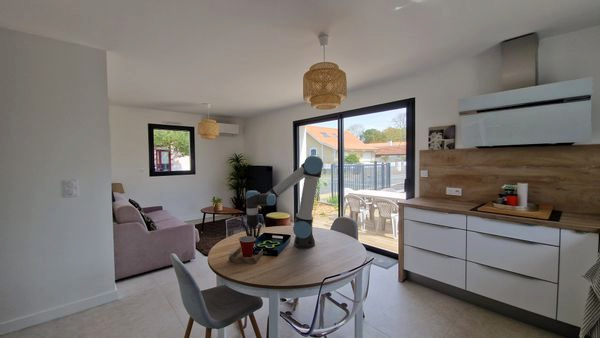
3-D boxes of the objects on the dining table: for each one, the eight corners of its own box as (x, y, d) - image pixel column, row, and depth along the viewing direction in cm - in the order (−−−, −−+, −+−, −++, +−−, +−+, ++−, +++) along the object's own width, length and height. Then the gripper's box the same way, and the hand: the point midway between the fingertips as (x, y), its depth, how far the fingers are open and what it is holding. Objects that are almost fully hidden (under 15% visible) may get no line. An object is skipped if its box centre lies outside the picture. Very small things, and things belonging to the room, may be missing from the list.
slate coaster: (237, 252, 164) (237, 251, 164) (236, 254, 160) (236, 253, 160) (231, 252, 164) (230, 251, 164) (229, 255, 159) (229, 254, 159)
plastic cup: (258, 258, 154) (257, 239, 153) (240, 261, 150) (239, 241, 149) (254, 252, 164) (254, 234, 163) (238, 254, 160) (237, 236, 159)
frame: (263, 252, 162) (263, 248, 162) (255, 263, 146) (255, 258, 146) (239, 251, 165) (239, 247, 165) (229, 261, 149) (228, 257, 149)
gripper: (263, 212, 168) (264, 246, 169) (245, 212, 169) (246, 245, 171) (260, 215, 160) (261, 250, 162) (241, 215, 162) (242, 250, 163)
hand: (253, 248), depth 166 cm, fingers closed
